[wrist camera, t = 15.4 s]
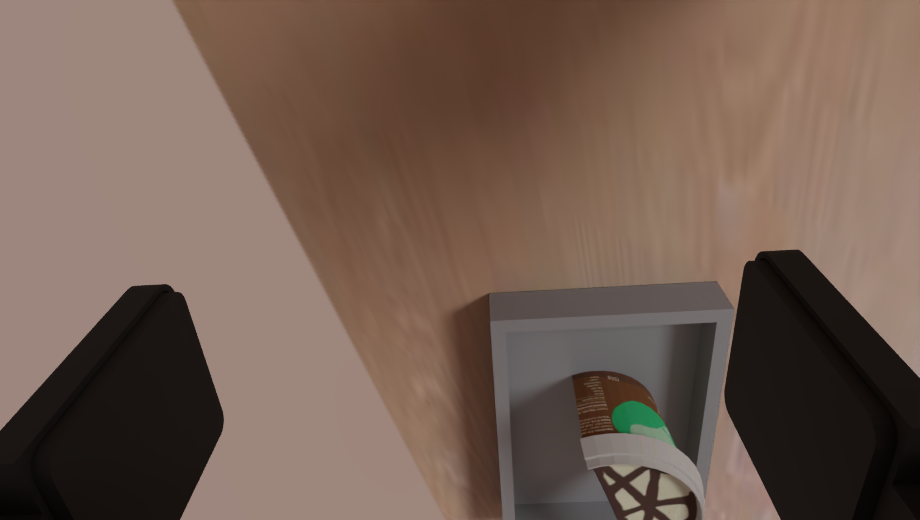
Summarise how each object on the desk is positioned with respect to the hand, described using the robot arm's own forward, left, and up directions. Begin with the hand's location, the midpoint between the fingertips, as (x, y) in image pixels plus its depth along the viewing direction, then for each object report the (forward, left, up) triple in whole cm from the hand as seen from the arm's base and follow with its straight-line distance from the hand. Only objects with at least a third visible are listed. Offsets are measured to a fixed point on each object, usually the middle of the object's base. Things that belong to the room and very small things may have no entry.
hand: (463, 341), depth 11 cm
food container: (-10, +28, -30) cm, 42 cm away
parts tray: (-8, +29, -30) cm, 43 cm away
